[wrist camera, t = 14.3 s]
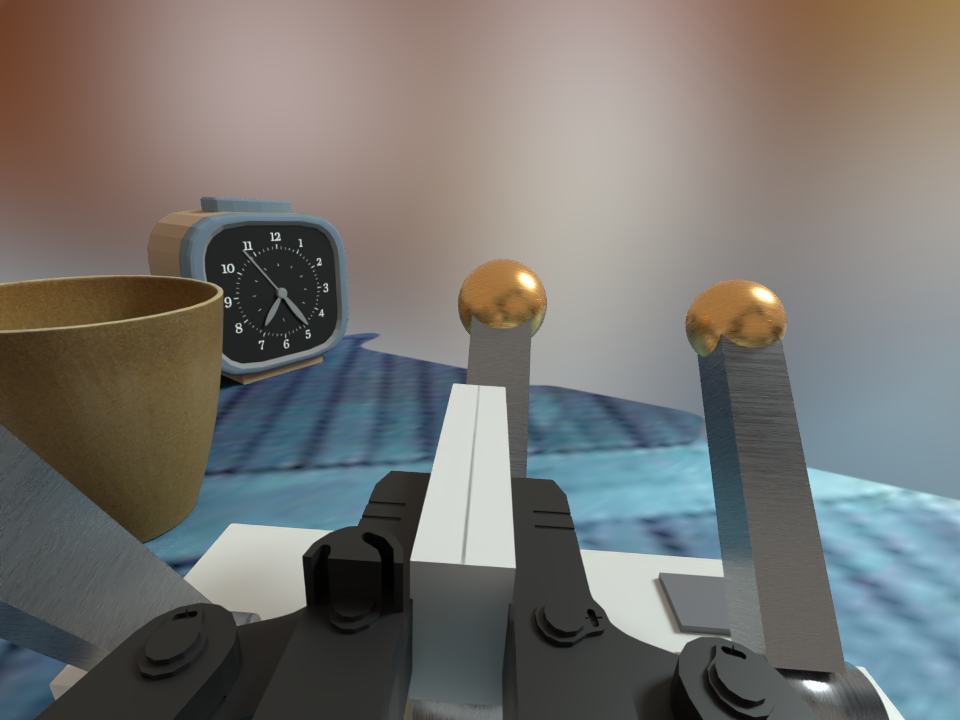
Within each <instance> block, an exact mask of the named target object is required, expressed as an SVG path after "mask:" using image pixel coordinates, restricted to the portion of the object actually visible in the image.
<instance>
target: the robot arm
mask: <svg viewBox="0 0 960 720" xmlns="http://www.w3.org/2000/svg"><path fill="white" fill-rule="evenodd" d="M302 561H303V572H304V583H305V594H306V606H305V607H303V608H301V609H299V610H297V611H295V612H293V613H290V614H287V615H284V616H280V617H277V618H273V619H268V620H263V621H258V622H254V623H249V624H244V625H239V626H237V625H236V622H235V619H234V617H233V614H232V613H231V612H230V611H228V610H227V609H225V608H224V607H222V606H221V605H217V604H208V603H197V604H192V605H187V606H181V607H178V608H175V609H173V610H171V611H169V612H166V613H164V614H162V615H160V616H157V617H155V618H154V619H152V620H151V621H149V622H148V623H147V624H145V625H144V626H142V627H141V628H140V629H138V630H137V631H135V632H134V633H133V634H131V635H130V636H129V637H128V638H127V639H126V640H125V641H123V642H122V643H121V644H120V645H119V646H118V647H117V648H115V649H114V650H113V651H112V652H111V653H110V654H109V655H107V656H106V657H105V658H104V659H103V660H102V661H100V662H99V663H98V664H97V665H96V666H95V667H94V668H92V669H91V670H90V671H89V672H88V673H87V674H86V675H84V676H83V677H82V678H81V679H80V680H79V681H78V682H76V683H75V684H74V685H73V686H72V687H71V688H70V689H68V690H67V691H66V692H65V693H64V694H63V695H62V696H60V697H59V698H58V699H57V700H56V701H55V702H54V703H52V704H51V705H50V706H49V707H48V708H47V709H46V710H44V711H43V712H42V713H41V714H40V715H39V716H38V717H36V718H35V719H34V720H403V719H404V713H405V708H406V702H407V696H408V691H409V699H416V700H429V701H443V702H454V703H467V704H480V705H494V706H502V709H503V720H820V719H819V718H818V717H817V716H816V714H815V713H814V712H813V711H812V710H811V709H810V707H809V706H808V705H807V704H806V703H805V702H804V700H803V699H802V698H801V697H800V696H799V694H798V693H797V692H796V691H795V690H794V689H793V687H792V686H791V685H790V684H789V683H788V681H787V680H786V679H785V678H784V677H783V676H782V675H781V674H780V673H779V672H778V671H777V670H776V669H775V668H774V667H773V666H772V665H770V664H769V663H768V662H767V661H766V660H765V659H764V658H762V657H761V656H759V655H758V654H756V653H754V652H753V651H751V650H750V649H748V648H746V647H745V646H743V645H741V644H738V643H735V642H733V641H730V640H727V639H724V638H721V637H699V638H697V639H694V640H692V641H690V642H687V643H686V645H685V646H684V648H683V650H682V651H681V653H680V655H678V654H675V653H673V652H670V651H667V650H664V649H662V648H659V647H656V646H653V645H651V644H648V643H645V642H642V641H640V640H638V639H636V638H634V637H632V636H629V635H627V634H626V633H624V632H623V631H621V630H620V629H618V628H617V627H616V626H614V625H613V624H612V623H611V622H610V620H609V618H608V616H607V614H606V612H605V610H604V609H603V608H602V607H601V606H600V605H599V604H598V603H597V602H596V601H595V600H594V599H593V597H592V595H591V592H590V589H589V585H588V581H587V577H586V573H585V569H584V565H583V561H582V557H581V553H580V549H579V545H578V541H577V537H576V533H575V532H574V525H573V521H572V517H571V516H570V509H569V505H568V501H567V497H566V494H565V493H564V492H563V491H562V490H561V489H560V488H559V486H558V485H557V484H556V483H555V482H554V481H553V480H547V479H532V478H517V477H510V459H509V442H508V424H507V407H506V390H505V387H496V386H480V385H465V384H453V387H452V391H451V395H450V399H449V403H448V407H447V411H446V415H445V420H444V424H443V428H442V432H441V436H440V440H439V444H438V448H437V452H436V456H435V460H434V465H433V469H432V473H418V472H403V471H391V472H390V473H388V474H387V475H386V476H385V477H384V478H383V479H381V480H380V481H379V482H378V483H377V484H376V485H375V487H374V490H373V492H372V494H371V497H370V499H369V503H368V504H367V506H366V508H365V510H364V513H363V515H362V519H360V522H359V524H358V526H351V527H346V528H342V529H339V530H336V531H333V532H330V533H328V534H327V535H325V536H323V537H322V538H320V539H319V540H317V541H316V542H314V543H313V544H312V545H311V546H310V548H309V549H308V550H307V551H306V552H305V553H304V555H303V556H302Z"/></svg>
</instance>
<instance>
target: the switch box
mask: <svg viewBox="0 0 960 720" xmlns="http://www.w3.org/2000/svg"><path fill="white" fill-rule="evenodd" d="M330 532H333V531H326V530H313V529H299V528H286V527H272V526H259V525H246V524H232V523H231V524H230V525H229V527H228V528H227V529H226V530H225V531H224V532H223V534H222V535H221V536H220V537H219V538H218V539H217V540H216V542H215V543H214V544H213V545H212V546H211V547H210V549H209V550H208V551H207V552H206V553H205V554H204V555H203V557H202V558H201V559H200V560H199V561H198V562H197V563H196V565H195V566H194V567H193V568H192V569H191V570H190V572H189V573H188V574H187V575H186V576H185V577H184V578H183V579H185V580H186V581H187V582H188V583H189V584H191V585H192V586H193V587H194V588H195V589H196V590H198V591H199V592H200V593H201V594H202V595H204V596H205V597H206V598H207V599H208V600H210V601H211V602H212V603H213V604H217V605H221V606H222V607H224V608H225V609H227V610H228V611H237V612H249V613H257V614H258V615H259V616H260V618H261V621H263V620H268V619H273V618H277V617H280V616H284V615H287V614H290V613H293V612H295V611H297V610H299V609H301V608H303V607H305V606H306V594H305V583H304V572H303V561H302V556H303V555H304V553H305V552H306V551H307V550H308V549H309V548H310V546H311V545H312V544H313V543H314V542H316V541H317V540H319V539H320V538H322V537H323V536H325V535H327V534H328V533H330ZM580 553H581V557H582V561H583V565H584V569H585V573H586V577H587V581H588V585H589V589H590V592H591V595H592V597H593V599H594V600H595V601H596V602H597V603H598V604H599V605H600V606H601V607H602V608H603V609H604V610H605V612H606V614H607V616H608V618H609V620H610V622H611V623H612V624H613V625H614V626H616V627H617V628H618V629H620V630H621V631H623V632H624V633H626V634H627V635H629V636H632V637H634V638H636V639H638V640H640V641H642V642H645V643H648V644H651V645H653V646H656V647H659V648H662V649H664V650H667V651H670V652H673V653H675V654H678V655H680V653H681V651H682V650H683V648H684V646H685V645H686V643H687V642H690V641H692V640H694V639H697V638H699V637H721V638H724V639H727V640H730V641H731V632H730V624H729V615H728V607H727V599H726V590H725V582H724V573H723V565H722V560H715V559H701V558H688V557H675V556H661V555H648V554H634V553H621V552H608V551H594V550H581V549H580ZM855 667H856V666H855ZM857 668H858V669H859V670H860V671H861V672H862V673H863V674H864V675H865V676H866V677H867V678H868V679H869V680H870V682H871V683H872V684H873V686H874V687H875V689H876V691H877V692H878V694H879V696H880V697H881V700H882V702H883V704H884V706H885V708H886V711H887V714H888V717H889V720H905V719H904V718H903V717H902V715H901V714H900V713H899V712H898V710H897V709H896V708H895V707H894V705H893V704H892V703H891V701H890V700H889V699H888V698H887V696H886V695H885V694H884V692H883V691H882V690H881V689H880V687H879V686H878V685H877V684H876V682H875V681H874V680H873V678H872V677H871V676H870V675H869V673H868V672H867V671H866V669H865V668H864V667H857ZM87 673H88V672H87V671H84V670H82V669H79V668H77V667H74V666H72V665H69V664H68V665H67V666H66V667H65V668H64V669H63V670H62V672H61V673H60V674H59V675H58V676H57V677H56V678H55V679H54V680H53V681H52V682H51V683H50V684H49V685H50V688H51V690H52V693H53V696H54V698H55V701H56V700H57V699H58V698H59V697H60V696H62V695H63V694H64V693H65V692H66V691H67V690H68V689H70V688H71V687H72V686H73V685H74V684H75V683H76V682H78V681H79V680H80V679H81V678H82V677H83V676H84V675H86V674H87ZM412 710H413V699H409V691H408V696H407V702H406V708H405V713H404V719H403V720H413V718H412Z"/></svg>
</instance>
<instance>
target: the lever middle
mask: <svg viewBox="0 0 960 720" xmlns="http://www.w3.org/2000/svg"><path fill="white" fill-rule="evenodd" d="M546 308H547V299H546V293H545V290H544V287H543V285H542V283H541V281H540V279H539V278H538V276H537V275H536V274H535V273H534V272H533V271H532V270H531V269H530V268H528V267H527V266H525V265H523V264H522V263H519V262H516V261H513V260H508V259H498V260H492V261H489V262H486V263H484V264H482V265H480V266H478V267H477V268H476V269H474V270H473V271H472V272H471V273H470V274H469V275H468V277H467V278H466V279H465V281H464V283H463V285H462V287H461V290H460V293H459V298H458V311H459V316H460V319H461V322H462V324H463V326H464V327H465V329H466V331H467V332H468V333H469V334H470V346H469V359H468V371H467V383H466V385H480V386H496V387H505V390H506V407H507V424H508V442H509V459H510V477H517V478H526V466H527V436H528V406H529V376H530V347H531V338H532V336H534V335H535V333H536V332H537V331H538V330H539V328H540V327H541V325H542V323H543V320H544V318H545V314H546ZM412 718H413V720H503V709H502V706H494V705H480V704H467V703H454V702H443V701H429V700H416V699H413V710H412Z"/></svg>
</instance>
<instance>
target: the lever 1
mask: <svg viewBox="0 0 960 720" xmlns="http://www.w3.org/2000/svg"><path fill="white" fill-rule="evenodd" d="M197 603H208V604H213V603H212V602H211V601H210V600H208V599H207V598H206V597H205V596H204V595H202V594H201V593H200V592H199V591H198V590H196V589H195V588H194V587H193V586H192V585H191V584H189V583H188V582H187V581H186V580H185V579H183V578H182V577H181V576H180V575H179V574H178V573H176V572H175V571H174V570H173V569H172V568H170V567H169V566H168V565H167V564H166V563H165V562H163V561H162V560H161V559H160V558H159V557H157V556H156V555H155V554H154V553H153V552H152V551H150V550H149V549H148V548H147V547H146V546H144V545H143V544H142V543H141V542H140V541H138V540H137V539H136V538H135V537H134V536H133V535H131V534H130V533H129V532H128V531H127V530H125V529H124V528H123V527H122V526H121V525H120V524H118V523H117V522H116V521H115V520H114V519H112V518H111V517H110V516H109V515H108V514H107V513H105V512H104V511H103V510H102V509H101V508H99V507H98V506H97V505H96V504H95V503H94V502H92V501H91V500H90V499H89V498H88V497H86V496H85V495H84V494H83V493H82V492H81V491H79V490H78V489H77V488H76V487H75V486H73V485H72V484H71V483H70V482H69V481H67V480H66V479H65V478H64V477H63V476H62V475H60V474H59V473H58V472H57V471H56V470H54V469H53V468H52V467H51V466H50V465H49V464H47V463H46V462H45V461H44V460H43V459H41V458H40V457H39V456H38V455H37V454H36V453H34V452H33V451H32V450H31V449H30V448H28V447H27V446H26V445H25V444H24V443H23V442H21V441H20V440H19V439H18V438H17V437H15V436H14V435H13V434H12V433H11V432H10V431H8V430H7V429H6V428H5V427H4V426H2V425H1V424H0V638H2V639H4V640H7V641H10V642H12V643H15V644H17V645H20V646H22V647H25V648H28V649H30V650H33V651H35V652H38V653H41V654H43V655H46V656H48V657H51V658H53V659H56V660H59V661H61V662H64V663H66V664H69V665H72V666H74V667H77V668H79V669H82V670H84V671H87V672H89V671H90V670H91V669H92V668H94V667H95V666H96V665H97V664H98V663H99V662H100V661H102V660H103V659H104V658H105V657H106V656H107V655H109V654H110V653H111V652H112V651H113V650H114V649H115V648H117V647H118V646H119V645H120V644H121V643H122V642H123V641H125V640H126V639H127V638H128V637H129V636H130V635H131V634H133V633H134V632H135V631H137V630H138V629H140V628H141V627H142V626H144V625H145V624H147V623H148V622H149V621H151V620H152V619H154V618H155V617H157V616H160V615H162V614H164V613H166V612H169V611H171V610H173V609H175V608H178V607H181V606H187V605H192V604H197ZM230 612H231V613H232V614H233V617H234V619H235V622H236V625H237V626H239V625H244V624H249V623H254V622H258V621H261V618H260V616H259V615H258V614H257V613H249V612H237V611H230Z"/></svg>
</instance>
